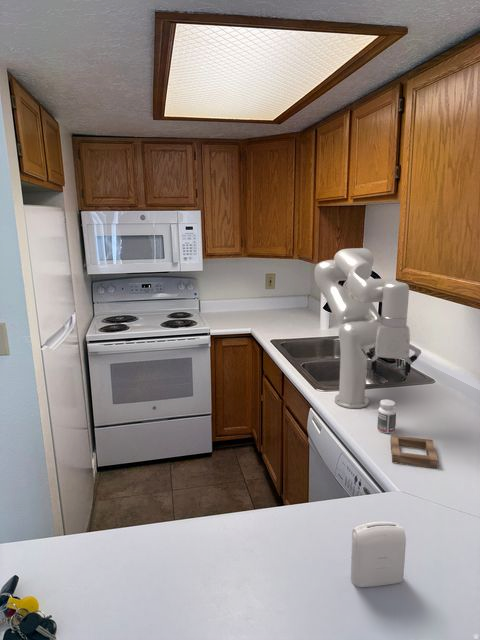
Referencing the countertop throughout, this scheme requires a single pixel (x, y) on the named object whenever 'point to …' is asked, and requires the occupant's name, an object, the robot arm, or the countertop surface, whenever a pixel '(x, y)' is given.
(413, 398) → the countertop surface
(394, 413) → the pill bottle
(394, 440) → the walnut dock
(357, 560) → the photo printer
